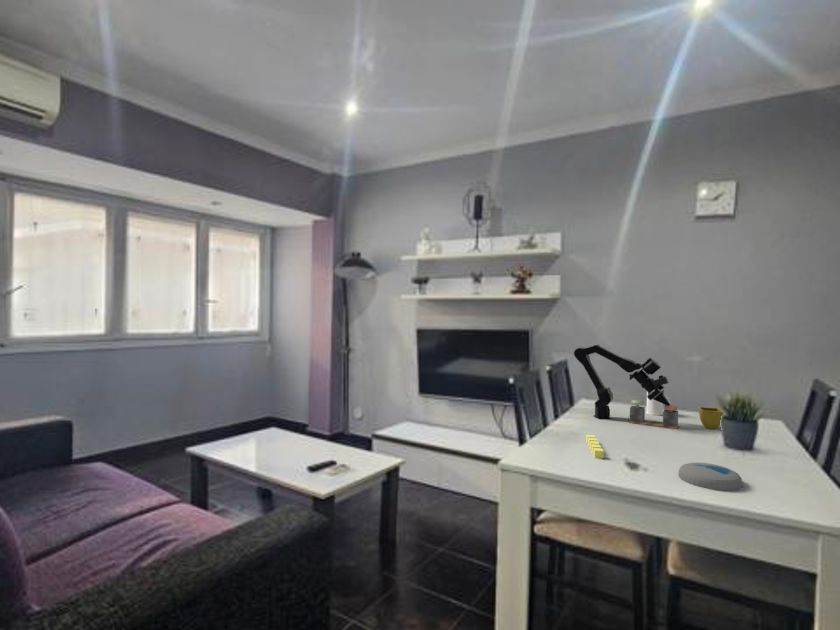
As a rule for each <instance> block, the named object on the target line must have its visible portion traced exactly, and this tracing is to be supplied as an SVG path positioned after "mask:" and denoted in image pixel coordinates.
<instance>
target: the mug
mask: <svg viewBox="0 0 840 630" xmlns="http://www.w3.org/2000/svg"><path fill="white" fill-rule="evenodd" d="M647 395H648V392H647V391H646V396H647ZM664 396H665V397H666V399H667V400H668V402H669V403H670V404H671V400H670V398H669V397H668V396H667V395H666V394H664ZM663 411H664V404H663V403H660V402H658V401H656V400H653V399H652V400H649V399H648V398H647V397H646V410H645V414H647V415H650V416H657V417H658V416H660V415H661V416H663Z"/></svg>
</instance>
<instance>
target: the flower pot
mask: <svg viewBox="0 0 840 630" xmlns="http://www.w3.org/2000/svg"><path fill="white" fill-rule="evenodd" d="M722 415H724V411H723V410H721V409H720V408H719V407H704V406H698V416H699V420H700V423H701V424H702V426H704V428H705V429H717V430H718V429H719V427H720V426H721V425H720V420H721V416H722Z"/></svg>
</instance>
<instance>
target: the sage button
mask: <svg viewBox="0 0 840 630" xmlns="http://www.w3.org/2000/svg"><path fill="white" fill-rule="evenodd" d="M630 402H631V404H632V405H633V406H636V408H639V407H640V406H643V405H644V404H645V402H644V400H642V399H631V401H630Z"/></svg>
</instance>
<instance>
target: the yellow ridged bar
mask: <svg viewBox="0 0 840 630" xmlns="http://www.w3.org/2000/svg"><path fill="white" fill-rule="evenodd" d="M585 438H586V439H585V441H586V444H587V446H588V448H589V451H591V454H592V456H593V458H594V457H595V458H594V459H601V458H603V459H604V458H605V457H604V449H603V448H602V446H601V444H600V443H599V441H598V439H597V438H596V436H595V434H593V435H592V434H586V436H585Z"/></svg>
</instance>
